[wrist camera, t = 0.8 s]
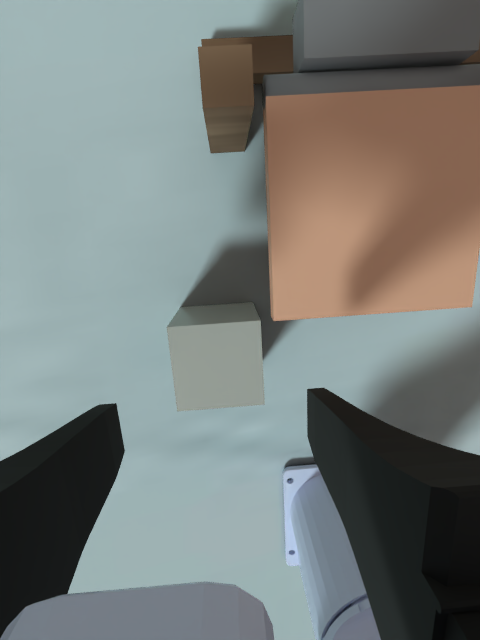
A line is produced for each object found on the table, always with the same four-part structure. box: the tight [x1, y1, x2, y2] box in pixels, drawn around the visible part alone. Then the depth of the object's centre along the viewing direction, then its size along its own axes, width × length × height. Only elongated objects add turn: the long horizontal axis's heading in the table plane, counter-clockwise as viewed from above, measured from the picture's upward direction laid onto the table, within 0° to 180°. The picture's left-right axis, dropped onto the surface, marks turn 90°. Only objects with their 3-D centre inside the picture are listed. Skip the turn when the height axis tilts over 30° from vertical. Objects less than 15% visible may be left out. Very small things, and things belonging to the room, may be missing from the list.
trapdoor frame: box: [198, 35, 480, 153], centre depth 15 cm, size 5×15×6 cm, turn 94°
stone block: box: [167, 302, 265, 411], centre depth 19 cm, size 5×5×5 cm
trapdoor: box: [262, 0, 480, 321], centre depth 14 cm, size 13×10×2 cm
